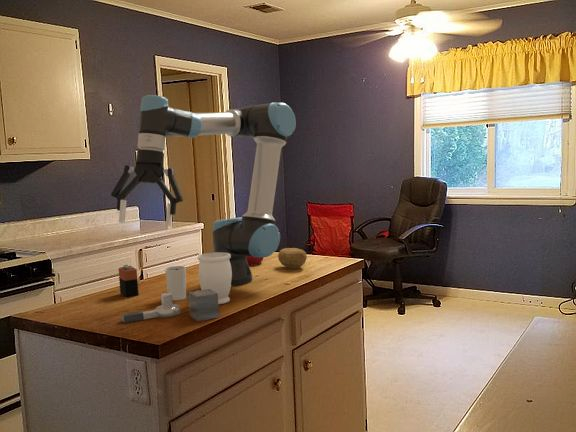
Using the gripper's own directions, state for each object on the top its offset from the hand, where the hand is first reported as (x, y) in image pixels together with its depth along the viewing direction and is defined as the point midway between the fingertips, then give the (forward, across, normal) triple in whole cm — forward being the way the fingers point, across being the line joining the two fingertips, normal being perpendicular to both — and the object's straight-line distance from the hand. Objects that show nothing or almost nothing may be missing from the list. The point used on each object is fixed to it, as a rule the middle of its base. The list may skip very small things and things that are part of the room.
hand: (145, 224), depth 156 cm
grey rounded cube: (+25, +19, +2) cm, 31 cm away
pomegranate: (+15, +22, +76) cm, 81 cm away
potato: (+15, +40, +66) cm, 78 cm away
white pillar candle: (+24, +5, +23) cm, 34 cm away
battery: (+25, -13, +30) cm, 41 cm away
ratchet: (+27, +3, +3) cm, 27 cm away
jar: (+23, +19, +18) cm, 35 cm away
